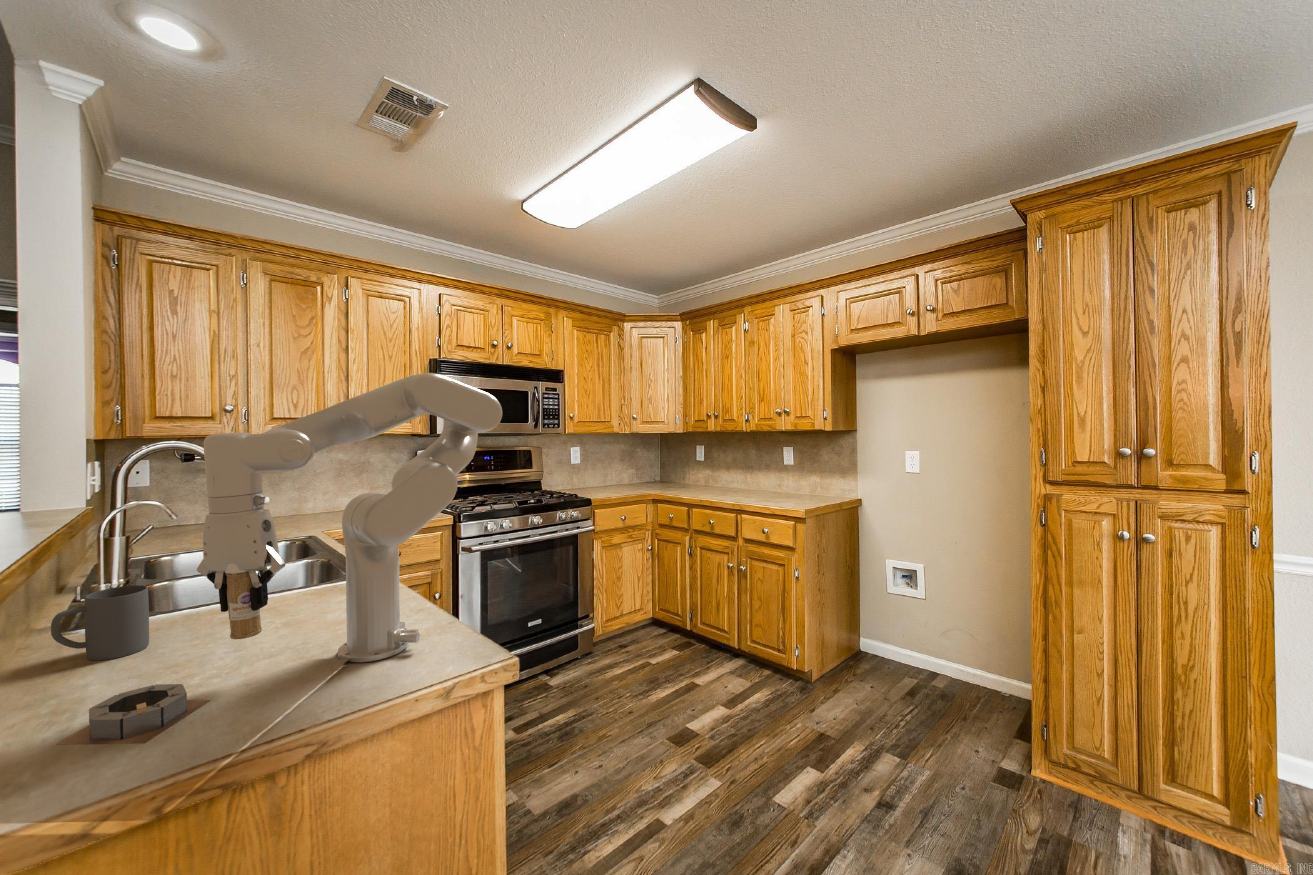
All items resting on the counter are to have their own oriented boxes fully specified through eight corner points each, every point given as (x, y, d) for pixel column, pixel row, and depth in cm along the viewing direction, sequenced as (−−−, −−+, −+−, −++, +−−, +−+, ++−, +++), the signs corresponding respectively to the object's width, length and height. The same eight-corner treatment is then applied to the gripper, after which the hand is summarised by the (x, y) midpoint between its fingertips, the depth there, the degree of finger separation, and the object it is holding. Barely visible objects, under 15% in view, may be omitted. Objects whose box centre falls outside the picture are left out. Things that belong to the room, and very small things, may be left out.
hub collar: (202, 702, 88) (202, 678, 88) (143, 739, 78) (143, 713, 77) (135, 703, 88) (135, 679, 88) (67, 741, 77) (66, 714, 77)
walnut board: (211, 704, 89) (211, 699, 89) (144, 748, 77) (144, 742, 77) (135, 705, 88) (135, 700, 88) (56, 749, 76) (56, 744, 76)
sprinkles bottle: (238, 642, 92) (232, 564, 92) (224, 637, 95) (218, 561, 94) (268, 632, 96) (262, 556, 96) (254, 627, 99) (248, 554, 98)
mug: (141, 638, 116) (140, 582, 116) (156, 648, 111) (154, 589, 111) (46, 662, 104) (44, 599, 104) (57, 674, 99) (55, 608, 99)
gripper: (300, 498, 98) (307, 598, 99) (203, 502, 98) (211, 602, 99) (272, 506, 91) (280, 614, 92) (167, 510, 90) (176, 618, 91)
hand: (244, 607), depth 95 cm, fingers closed on sprinkles bottle, 4 cm apart
